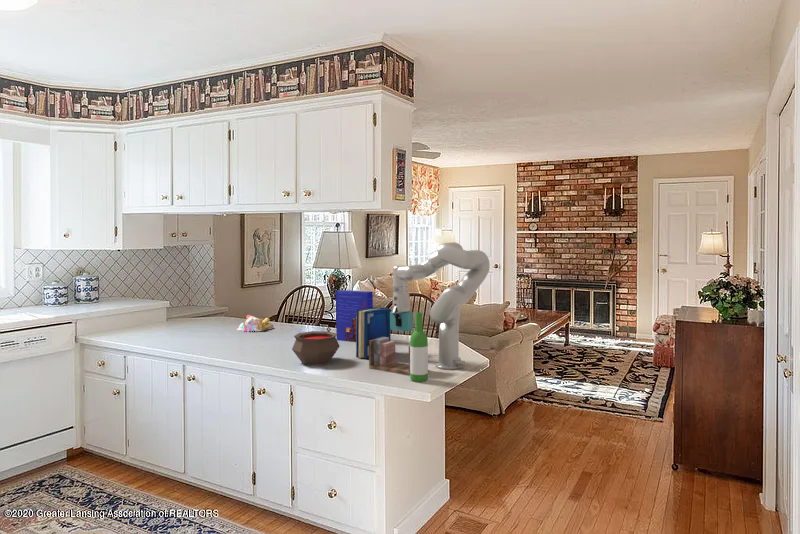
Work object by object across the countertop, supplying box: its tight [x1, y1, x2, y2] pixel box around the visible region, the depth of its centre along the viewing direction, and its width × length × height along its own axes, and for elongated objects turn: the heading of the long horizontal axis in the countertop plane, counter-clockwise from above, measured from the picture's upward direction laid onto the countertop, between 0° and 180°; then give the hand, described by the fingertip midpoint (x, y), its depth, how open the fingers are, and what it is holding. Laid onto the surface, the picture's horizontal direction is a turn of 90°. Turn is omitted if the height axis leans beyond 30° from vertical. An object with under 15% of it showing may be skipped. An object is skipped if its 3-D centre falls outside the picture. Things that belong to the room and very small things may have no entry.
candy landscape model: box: [236, 314, 275, 333], centre depth 378 cm, size 25×24×9 cm
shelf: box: [368, 337, 410, 376], centre depth 268 cm, size 24×12×14 cm, turn 55°
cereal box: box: [335, 289, 374, 343], centre depth 336 cm, size 22×6×30 cm, turn 64°
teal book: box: [390, 311, 414, 332], centre depth 287 cm, size 11×4×9 cm, turn 55°
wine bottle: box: [409, 311, 429, 383], centre depth 248 cm, size 8×8×30 cm
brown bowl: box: [291, 326, 341, 366], centre depth 284 cm, size 24×24×16 cm
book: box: [355, 307, 392, 360], centre depth 297 cm, size 22×7×25 cm, turn 141°
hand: (401, 325), depth 287 cm, fingers closed on teal book, 4 cm apart
